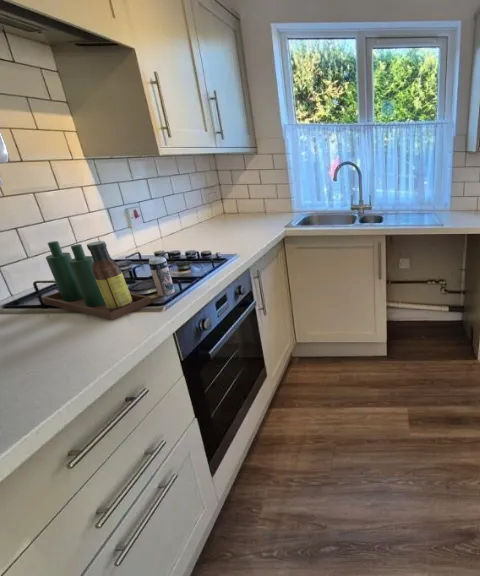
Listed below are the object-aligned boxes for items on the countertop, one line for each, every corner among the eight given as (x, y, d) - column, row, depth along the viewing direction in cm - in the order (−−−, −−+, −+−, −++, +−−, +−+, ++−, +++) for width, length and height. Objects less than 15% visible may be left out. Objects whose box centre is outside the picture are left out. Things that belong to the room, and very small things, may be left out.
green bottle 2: (81, 305, 107) (58, 247, 100) (101, 298, 112) (80, 242, 105) (93, 308, 105) (70, 249, 98) (112, 300, 110) (92, 243, 103)
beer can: (168, 297, 113) (157, 261, 108) (154, 296, 113) (143, 260, 109) (178, 291, 117) (169, 256, 112) (165, 290, 118) (155, 255, 113)
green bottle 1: (59, 300, 111) (35, 243, 104) (79, 293, 116) (58, 239, 109) (70, 303, 109) (47, 245, 102) (90, 295, 114) (69, 240, 107)
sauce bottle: (136, 302, 108) (115, 238, 100) (131, 311, 103) (108, 243, 95) (110, 306, 106) (87, 241, 98) (104, 315, 101) (79, 247, 93)
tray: (44, 305, 110) (41, 297, 109) (86, 290, 119) (83, 283, 118) (112, 322, 98) (109, 313, 97) (152, 304, 108) (149, 296, 107)
